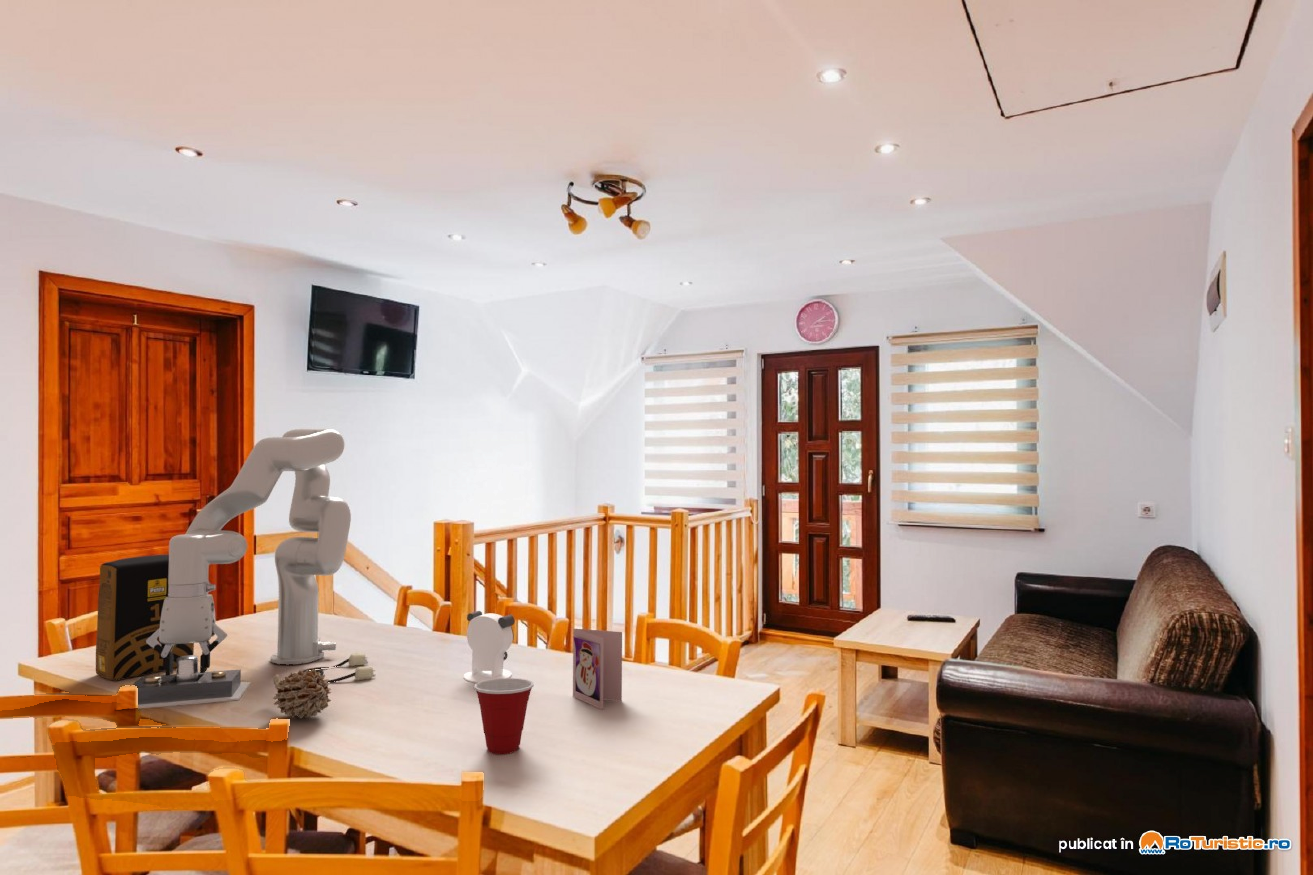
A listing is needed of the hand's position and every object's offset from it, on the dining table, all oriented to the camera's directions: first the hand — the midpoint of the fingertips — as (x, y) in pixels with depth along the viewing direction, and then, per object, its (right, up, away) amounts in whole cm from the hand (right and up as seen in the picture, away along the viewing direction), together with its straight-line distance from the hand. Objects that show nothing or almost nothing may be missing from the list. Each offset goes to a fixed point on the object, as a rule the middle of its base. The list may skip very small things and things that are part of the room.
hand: (186, 671), depth 165 cm
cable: (+27, -7, +17) cm, 32 cm away
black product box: (-22, -6, +20) cm, 31 cm away
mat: (0, -5, 0) cm, 5 cm away
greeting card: (+91, -6, -1) cm, 91 cm away
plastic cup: (+76, -5, -28) cm, 81 cm away
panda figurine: (+63, -6, +16) cm, 65 cm away
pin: (0, -5, 0) cm, 5 cm away
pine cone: (+29, -6, -11) cm, 31 cm away
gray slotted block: (0, -5, 0) cm, 5 cm away
